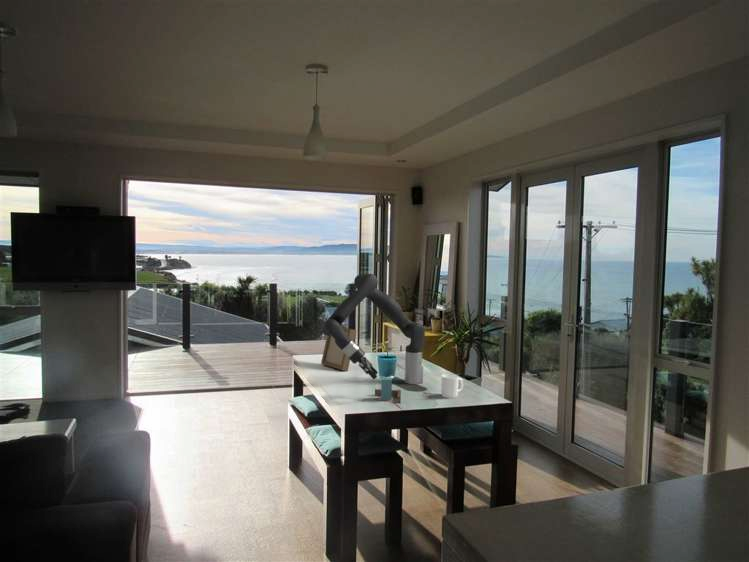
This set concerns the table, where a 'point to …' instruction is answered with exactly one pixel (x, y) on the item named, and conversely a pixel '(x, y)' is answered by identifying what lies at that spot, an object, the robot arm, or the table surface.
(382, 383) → the teal block
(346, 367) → the photo frame
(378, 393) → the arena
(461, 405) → the table surface
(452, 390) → the cup
